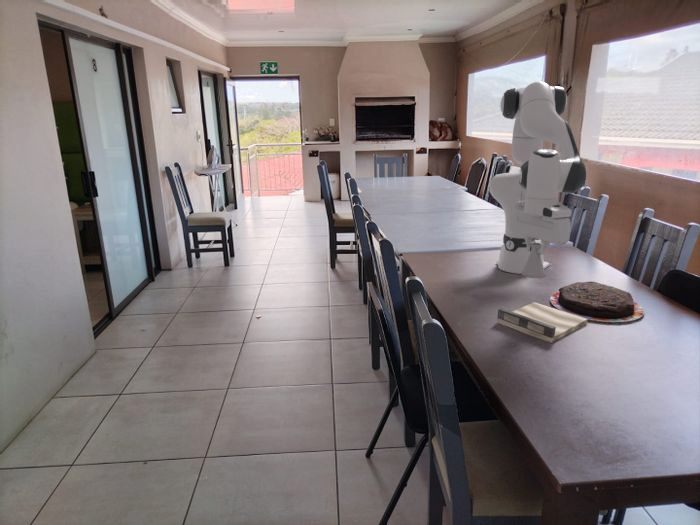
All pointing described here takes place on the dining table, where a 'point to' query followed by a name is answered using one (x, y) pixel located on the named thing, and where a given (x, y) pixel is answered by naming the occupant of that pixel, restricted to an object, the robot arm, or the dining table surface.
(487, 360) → the dining table surface
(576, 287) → the chocolate cake
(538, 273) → the flask
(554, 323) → the shelf board
